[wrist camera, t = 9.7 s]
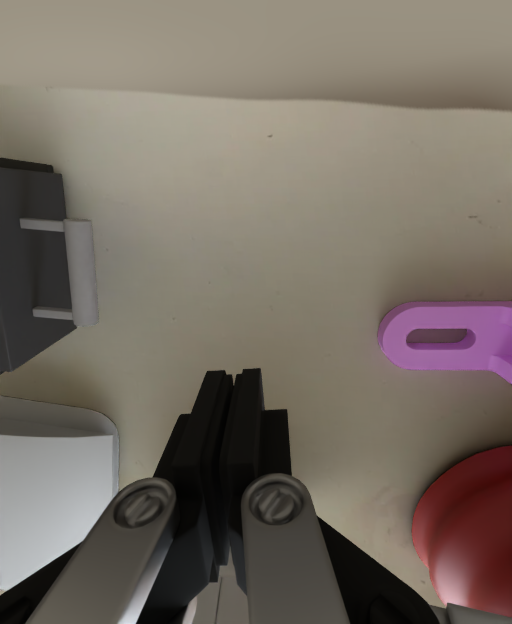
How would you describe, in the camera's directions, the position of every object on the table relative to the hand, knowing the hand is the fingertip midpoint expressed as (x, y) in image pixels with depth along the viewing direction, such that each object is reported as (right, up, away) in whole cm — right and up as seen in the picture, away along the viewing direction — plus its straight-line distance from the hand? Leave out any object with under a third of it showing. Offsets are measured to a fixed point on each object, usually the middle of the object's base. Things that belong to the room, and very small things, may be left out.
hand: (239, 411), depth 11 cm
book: (-22, -16, +26) cm, 38 cm away
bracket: (+17, +1, +18) cm, 25 cm away
